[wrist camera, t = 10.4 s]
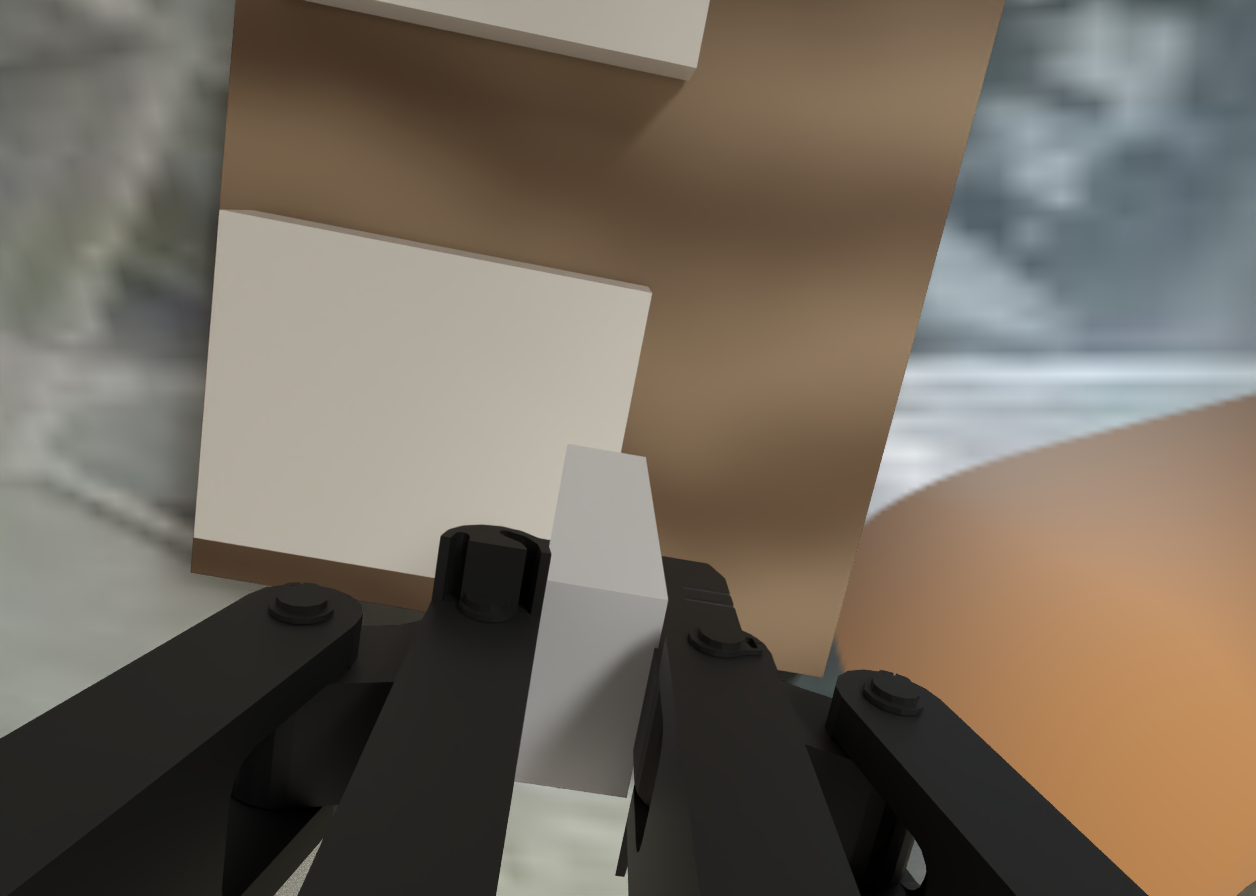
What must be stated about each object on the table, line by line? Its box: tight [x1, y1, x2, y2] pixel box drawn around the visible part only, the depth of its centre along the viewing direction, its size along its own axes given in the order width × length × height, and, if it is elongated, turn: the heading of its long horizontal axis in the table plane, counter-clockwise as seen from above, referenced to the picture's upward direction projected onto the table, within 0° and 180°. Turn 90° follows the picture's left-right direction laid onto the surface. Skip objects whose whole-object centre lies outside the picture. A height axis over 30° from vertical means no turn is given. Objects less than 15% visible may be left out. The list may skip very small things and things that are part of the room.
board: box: [191, 0, 1005, 677], centre depth 23 cm, size 26×18×1 cm
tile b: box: [194, 210, 652, 578], centre depth 23 cm, size 8×2×10 cm
